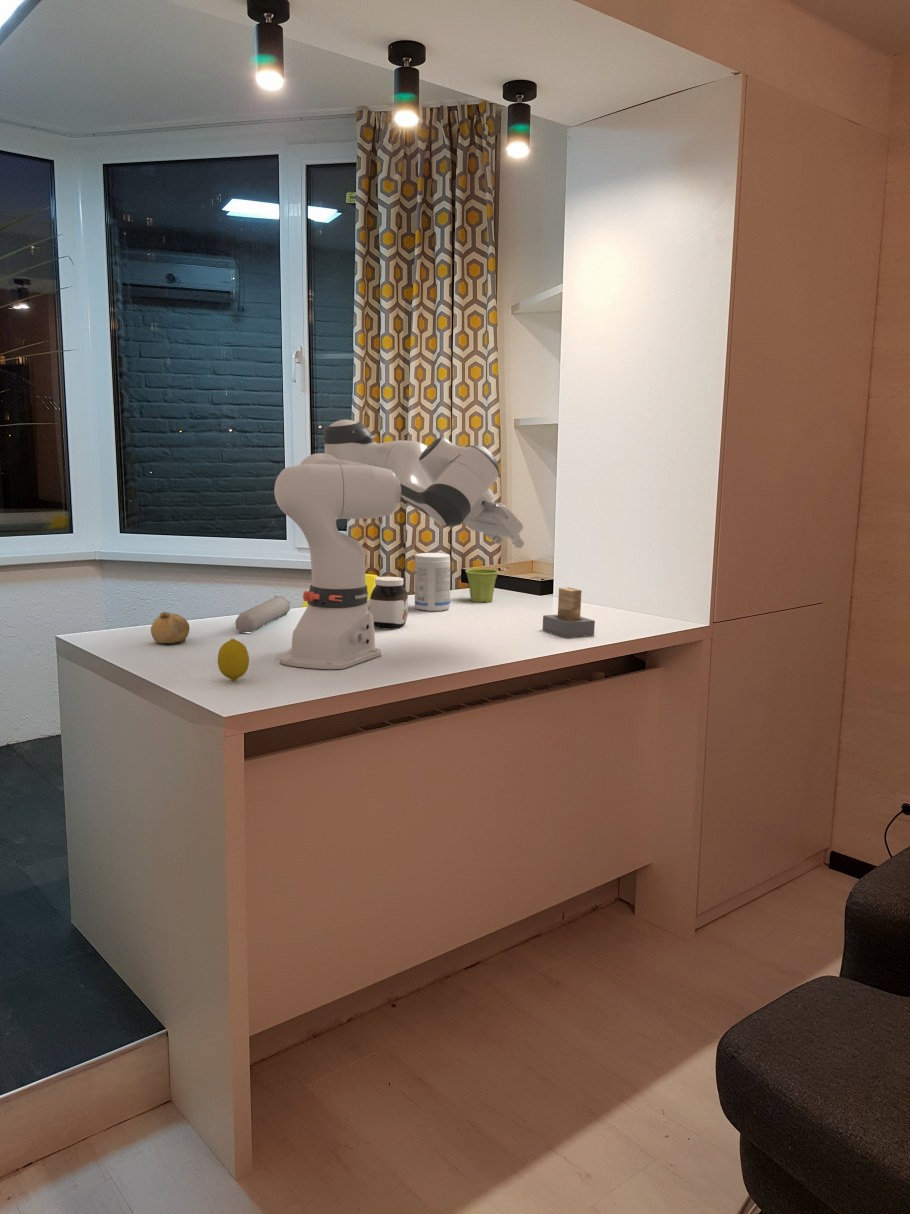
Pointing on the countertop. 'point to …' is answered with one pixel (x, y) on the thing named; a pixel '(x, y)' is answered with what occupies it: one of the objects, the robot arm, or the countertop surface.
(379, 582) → the spread jar
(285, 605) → the tube
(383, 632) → the countertop surface
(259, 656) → the countertop surface
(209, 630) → the countertop surface
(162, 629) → the onion
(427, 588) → the supplement tub
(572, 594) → the wooden block
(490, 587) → the plant pot
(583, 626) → the grey socket block
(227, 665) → the lemon
